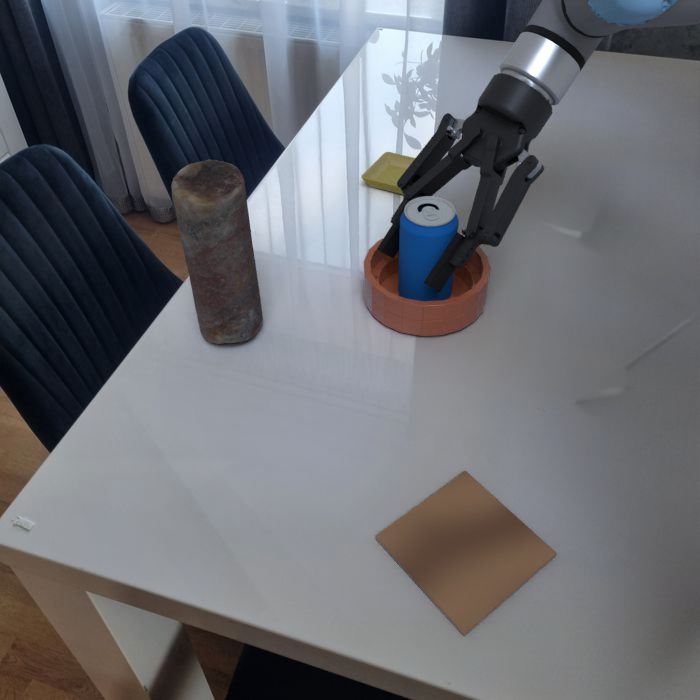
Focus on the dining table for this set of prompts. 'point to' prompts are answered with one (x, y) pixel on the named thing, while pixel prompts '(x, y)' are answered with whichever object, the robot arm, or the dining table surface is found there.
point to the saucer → (387, 171)
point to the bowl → (425, 314)
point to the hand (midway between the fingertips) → (407, 269)
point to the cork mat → (465, 551)
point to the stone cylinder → (218, 250)
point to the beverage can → (424, 246)
